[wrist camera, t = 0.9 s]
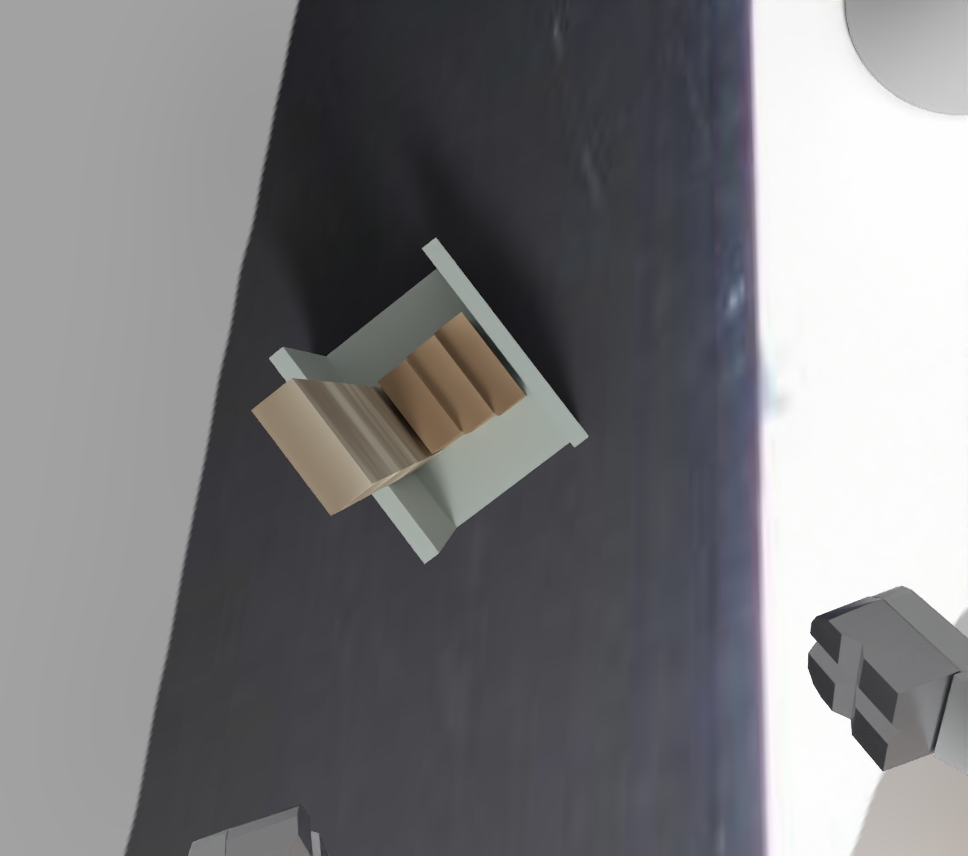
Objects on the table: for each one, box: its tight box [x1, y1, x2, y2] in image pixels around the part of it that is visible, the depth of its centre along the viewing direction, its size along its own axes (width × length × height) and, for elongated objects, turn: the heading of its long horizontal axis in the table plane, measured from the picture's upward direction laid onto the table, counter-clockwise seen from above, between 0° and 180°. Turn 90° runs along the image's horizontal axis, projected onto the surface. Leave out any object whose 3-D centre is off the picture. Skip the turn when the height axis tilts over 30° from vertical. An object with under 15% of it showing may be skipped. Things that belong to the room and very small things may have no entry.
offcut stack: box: [378, 312, 527, 454], centre depth 44 cm, size 6×6×7 cm
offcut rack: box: [269, 238, 589, 564], centre depth 44 cm, size 12×14×10 cm
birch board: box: [251, 378, 443, 515], centre depth 38 cm, size 2×5×20 cm, turn 38°
